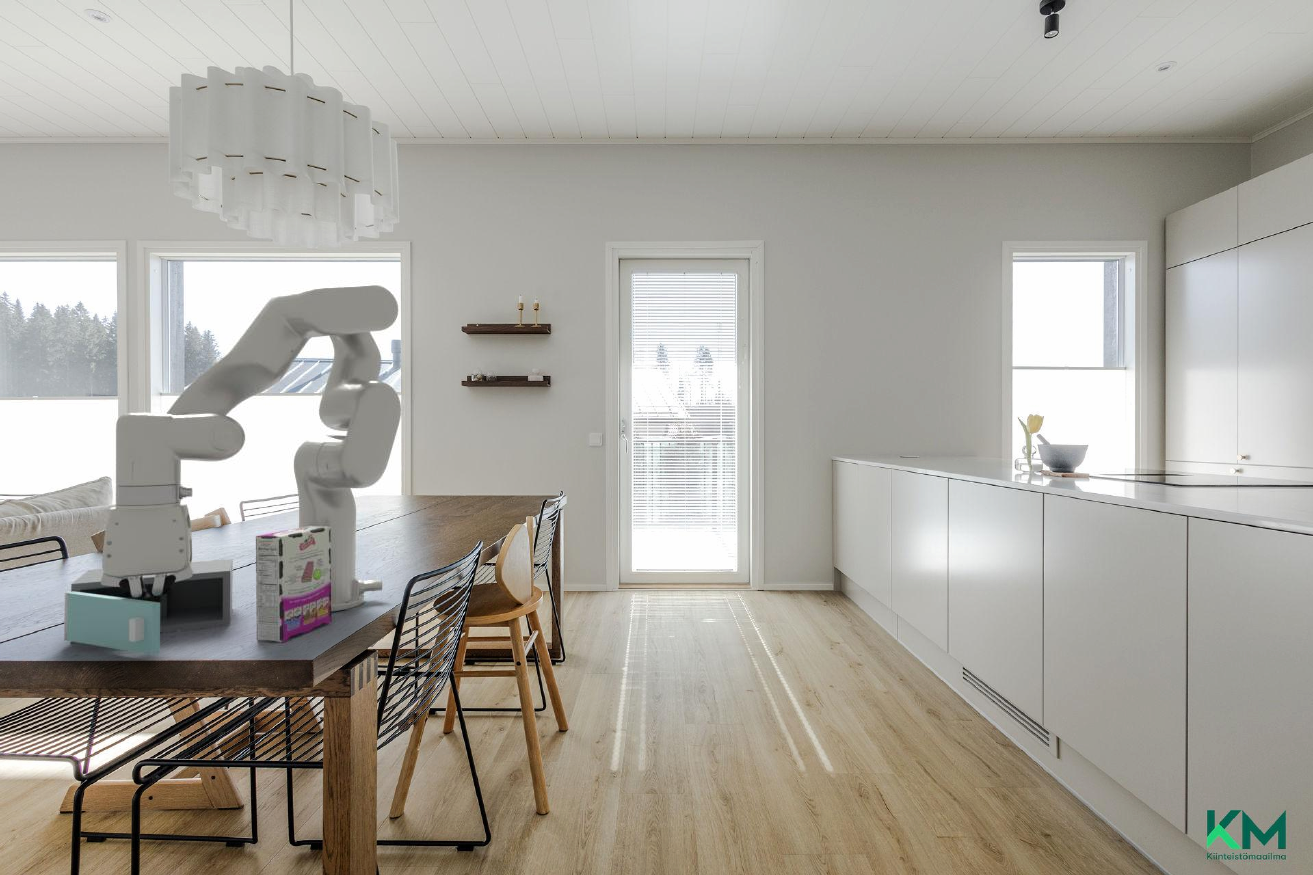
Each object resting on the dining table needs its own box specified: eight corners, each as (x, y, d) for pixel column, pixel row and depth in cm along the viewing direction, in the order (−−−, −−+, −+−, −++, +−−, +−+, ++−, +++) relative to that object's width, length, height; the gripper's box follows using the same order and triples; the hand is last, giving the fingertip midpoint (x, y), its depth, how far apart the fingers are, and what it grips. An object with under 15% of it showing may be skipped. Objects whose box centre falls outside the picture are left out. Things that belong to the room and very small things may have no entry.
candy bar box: (306, 621, 110) (307, 525, 110) (332, 623, 109) (333, 526, 109) (253, 641, 99) (254, 534, 99) (281, 643, 98) (282, 535, 98)
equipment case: (232, 608, 118) (232, 559, 118) (229, 624, 108) (230, 570, 108) (88, 624, 108) (88, 569, 108) (70, 643, 97) (71, 583, 97)
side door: (160, 652, 91) (161, 602, 91) (142, 657, 89) (143, 606, 89) (71, 637, 97) (72, 590, 97) (53, 642, 95) (53, 594, 95)
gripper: (212, 493, 102) (212, 609, 102) (88, 497, 94) (88, 622, 95) (208, 497, 96) (207, 620, 96) (75, 501, 88) (74, 636, 88)
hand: (148, 621), depth 95 cm, fingers closed
